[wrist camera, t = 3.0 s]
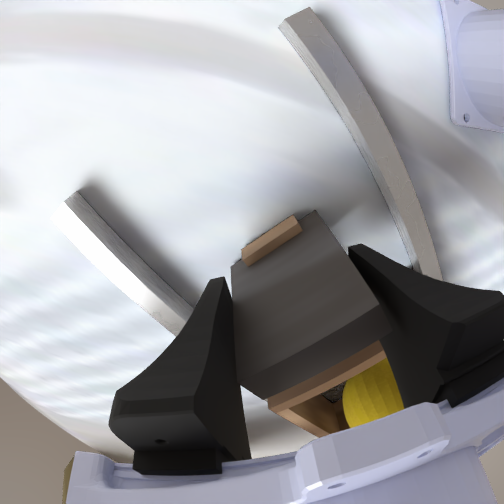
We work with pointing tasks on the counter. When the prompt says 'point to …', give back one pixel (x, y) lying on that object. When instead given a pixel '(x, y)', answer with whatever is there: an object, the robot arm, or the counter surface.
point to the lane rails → (364, 134)
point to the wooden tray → (303, 322)
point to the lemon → (371, 395)
